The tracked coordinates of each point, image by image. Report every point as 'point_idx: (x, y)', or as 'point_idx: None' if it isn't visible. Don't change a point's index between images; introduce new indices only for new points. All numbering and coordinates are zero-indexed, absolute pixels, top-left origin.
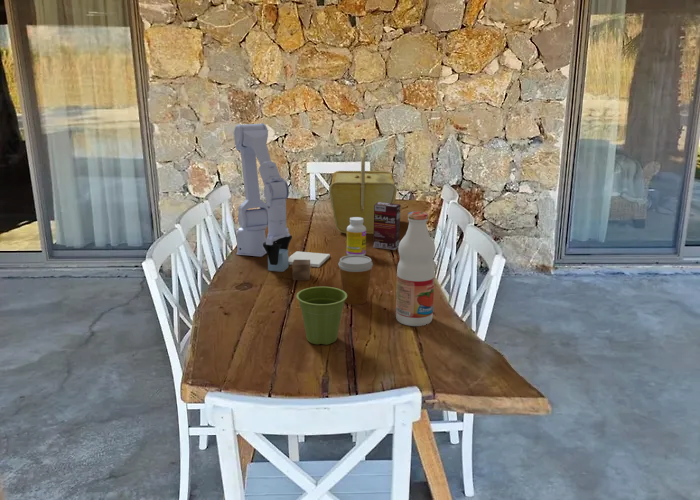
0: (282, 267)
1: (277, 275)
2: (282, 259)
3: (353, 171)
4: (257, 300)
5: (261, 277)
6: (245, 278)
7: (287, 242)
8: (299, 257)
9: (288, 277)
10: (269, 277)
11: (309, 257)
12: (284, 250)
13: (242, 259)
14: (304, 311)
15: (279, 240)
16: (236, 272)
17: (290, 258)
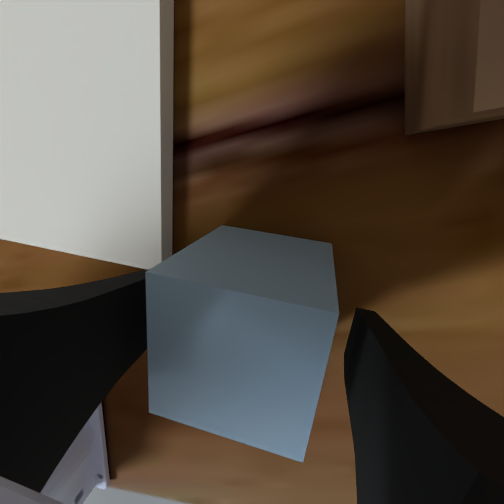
0: (332, 256)
1: (428, 266)
2: (334, 282)
3: None
4: None
5: (479, 365)
6: None
7: (44, 322)
8: (58, 184)
9: (490, 167)
10: (482, 314)
11: (32, 107)
12: (194, 307)
13: (158, 461)
14: None
15: (42, 433)
16: None
17: (98, 240)
